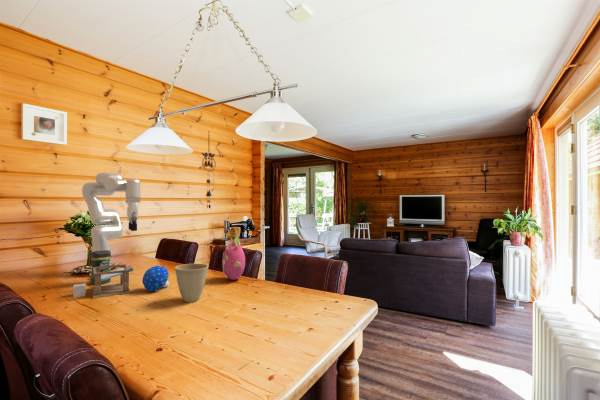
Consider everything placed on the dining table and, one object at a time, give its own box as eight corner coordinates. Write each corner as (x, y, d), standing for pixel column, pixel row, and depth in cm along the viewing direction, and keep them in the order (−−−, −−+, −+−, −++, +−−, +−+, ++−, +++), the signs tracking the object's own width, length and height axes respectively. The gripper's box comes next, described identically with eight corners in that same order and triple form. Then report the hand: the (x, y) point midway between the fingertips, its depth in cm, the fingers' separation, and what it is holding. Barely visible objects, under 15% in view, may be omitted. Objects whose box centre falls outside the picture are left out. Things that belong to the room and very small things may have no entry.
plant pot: (197, 306, 138) (197, 270, 138) (168, 303, 141) (168, 269, 141) (213, 296, 153) (213, 264, 153) (186, 294, 156) (186, 262, 156)
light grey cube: (85, 283, 156) (85, 293, 156) (73, 284, 154) (73, 294, 154) (85, 285, 152) (85, 295, 152) (73, 287, 149) (73, 297, 149)
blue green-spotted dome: (181, 271, 170) (162, 259, 160) (173, 296, 162) (152, 284, 151) (162, 274, 175) (142, 262, 165) (153, 298, 166) (131, 287, 156)
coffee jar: (94, 285, 169) (95, 252, 169) (88, 283, 173) (88, 251, 173) (113, 282, 177) (113, 250, 177) (106, 280, 182) (106, 248, 182)
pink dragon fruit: (219, 277, 190) (219, 229, 190) (240, 275, 195) (241, 228, 195) (225, 284, 173) (225, 231, 174) (248, 282, 179) (248, 230, 179)
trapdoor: (98, 277, 162) (97, 274, 162) (131, 267, 171) (130, 264, 171) (99, 282, 152) (98, 279, 152) (133, 271, 161) (133, 268, 161)
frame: (92, 288, 164) (92, 266, 164) (126, 284, 173) (126, 263, 173) (93, 298, 148) (93, 274, 148) (130, 292, 157) (130, 270, 157)
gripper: (124, 200, 182) (123, 229, 182) (127, 200, 167) (126, 231, 167) (138, 200, 186) (138, 228, 186) (142, 200, 172) (142, 231, 172)
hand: (132, 230), depth 177 cm, fingers open, 9 cm apart
